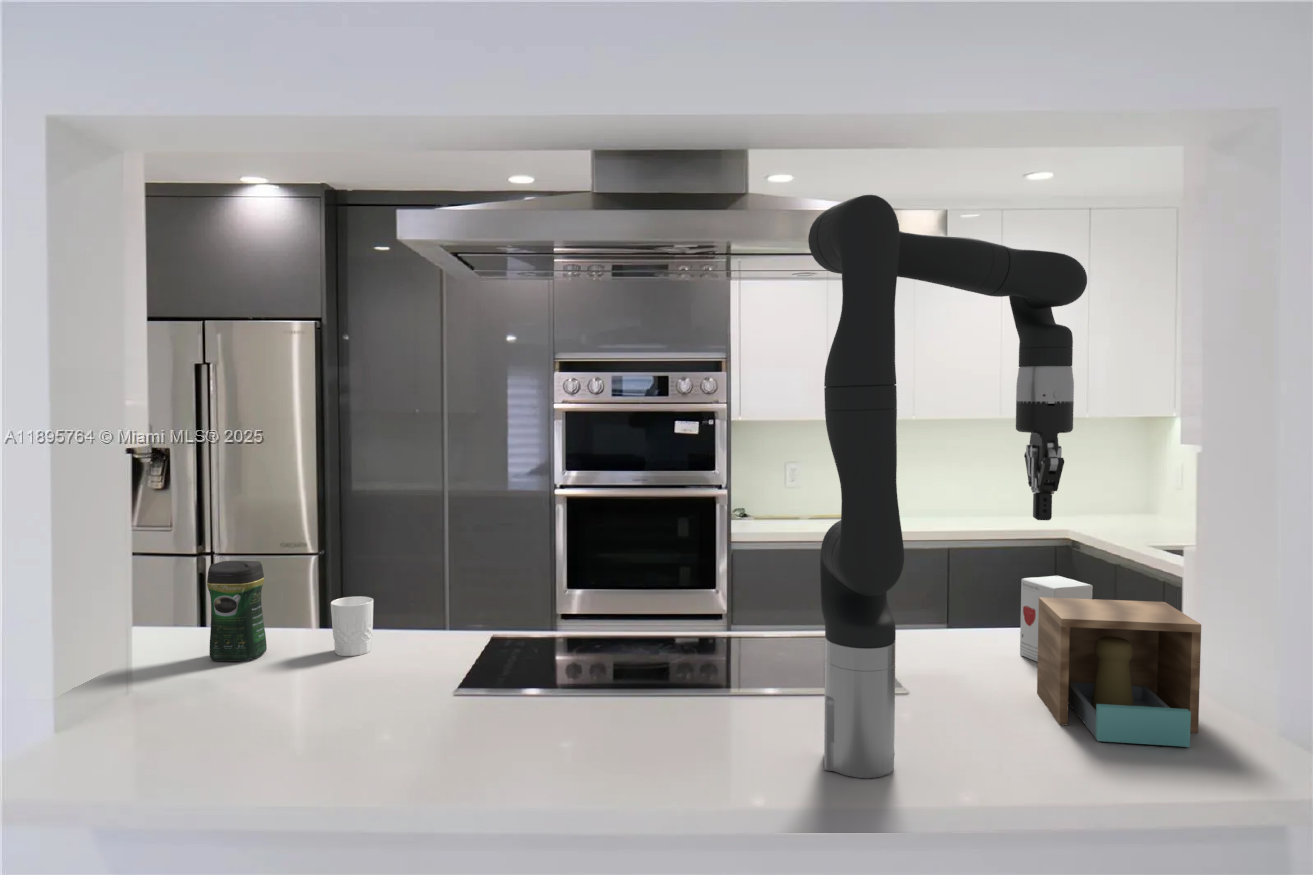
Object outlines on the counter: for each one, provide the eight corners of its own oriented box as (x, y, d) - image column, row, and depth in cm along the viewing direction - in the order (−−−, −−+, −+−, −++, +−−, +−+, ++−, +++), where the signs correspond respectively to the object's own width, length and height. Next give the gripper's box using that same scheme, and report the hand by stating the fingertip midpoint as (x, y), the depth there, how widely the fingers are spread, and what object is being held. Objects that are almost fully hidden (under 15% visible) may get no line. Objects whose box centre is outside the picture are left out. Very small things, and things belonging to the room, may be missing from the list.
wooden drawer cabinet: (1059, 724, 133) (1061, 618, 132) (1036, 693, 147) (1038, 597, 146) (1198, 733, 130) (1201, 624, 129) (1162, 700, 143) (1164, 601, 143)
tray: (1098, 741, 126) (1098, 706, 126) (1065, 699, 143) (1066, 669, 143) (1189, 747, 124) (1190, 712, 124) (1145, 704, 141) (1146, 673, 140)
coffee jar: (273, 651, 172) (270, 557, 171) (251, 663, 164) (248, 565, 163) (226, 650, 173) (223, 556, 172) (202, 662, 165) (199, 564, 164)
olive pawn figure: (1142, 715, 133) (1144, 643, 133) (1102, 715, 133) (1104, 643, 133) (1121, 701, 139) (1123, 632, 139) (1083, 701, 139) (1085, 632, 139)
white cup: (361, 658, 167) (359, 606, 167) (323, 656, 169) (322, 604, 168) (382, 646, 175) (381, 597, 175) (345, 644, 177) (344, 595, 176)
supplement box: (1017, 655, 168) (1019, 577, 167) (1056, 650, 171) (1057, 574, 170) (1052, 669, 160) (1054, 587, 159) (1092, 664, 162) (1094, 584, 161)
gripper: (1007, 398, 133) (1005, 512, 134) (1027, 399, 120) (1024, 525, 121) (1060, 398, 131) (1057, 513, 132) (1086, 399, 118) (1083, 527, 119)
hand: (1042, 519), depth 126 cm, fingers closed
